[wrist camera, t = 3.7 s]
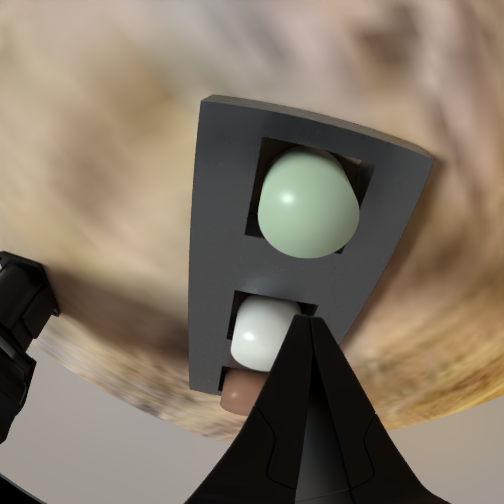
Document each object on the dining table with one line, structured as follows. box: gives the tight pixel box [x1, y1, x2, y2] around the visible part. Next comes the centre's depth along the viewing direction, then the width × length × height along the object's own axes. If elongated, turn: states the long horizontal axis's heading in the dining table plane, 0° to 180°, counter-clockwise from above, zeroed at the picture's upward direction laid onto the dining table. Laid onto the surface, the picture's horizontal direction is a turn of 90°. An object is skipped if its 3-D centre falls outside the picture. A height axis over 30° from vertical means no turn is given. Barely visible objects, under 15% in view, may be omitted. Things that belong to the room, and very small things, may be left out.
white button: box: [231, 294, 302, 371], centre depth 17 cm, size 4×4×3 cm
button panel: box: [188, 95, 435, 396], centre depth 19 cm, size 10×24×2 cm, turn 171°
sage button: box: [258, 146, 359, 259], centre depth 13 cm, size 4×4×3 cm
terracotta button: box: [220, 367, 268, 416], centre depth 22 cm, size 4×4×3 cm
